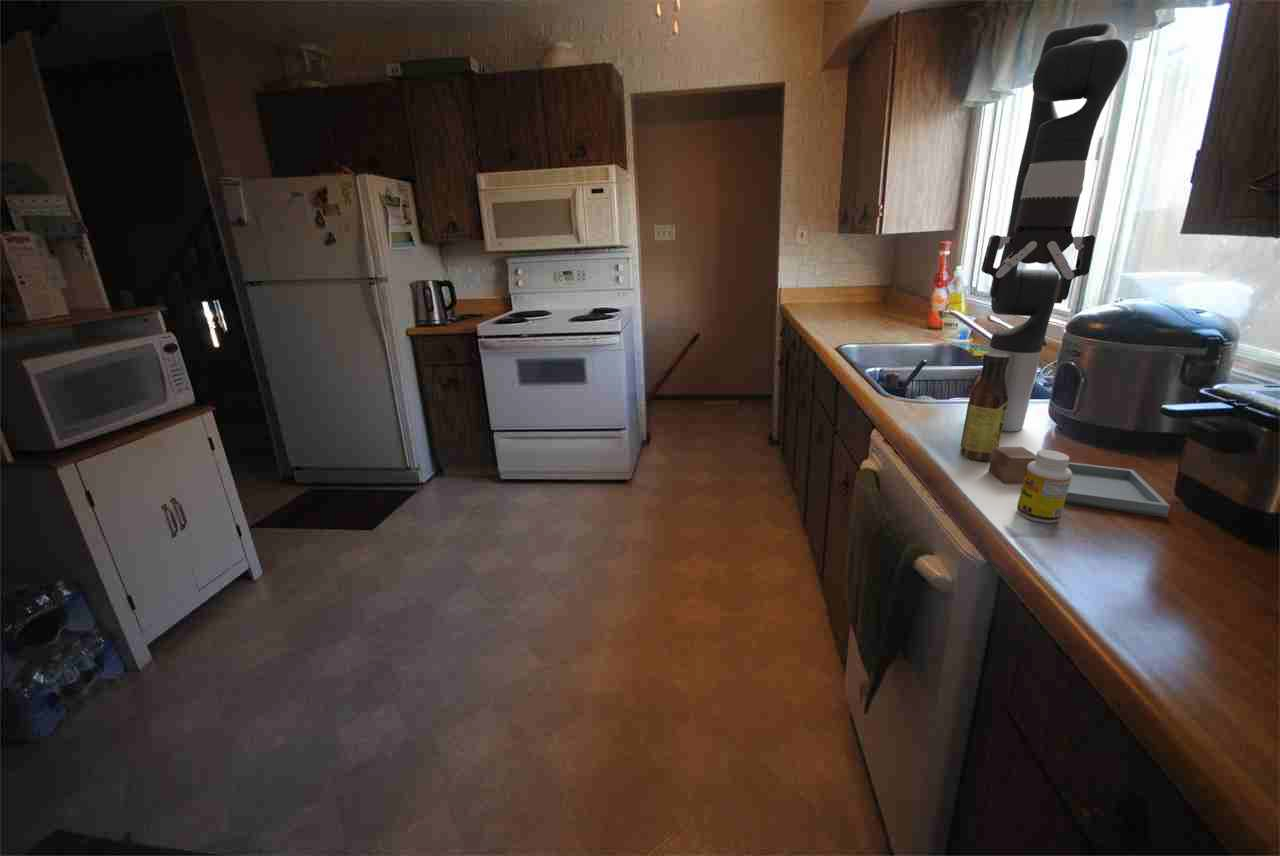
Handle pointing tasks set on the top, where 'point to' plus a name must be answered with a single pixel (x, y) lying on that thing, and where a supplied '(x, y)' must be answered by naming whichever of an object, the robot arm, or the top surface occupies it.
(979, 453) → the sauce bottle
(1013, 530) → the top surface
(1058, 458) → the supplement bottle
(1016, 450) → the walnut block
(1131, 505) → the tray
